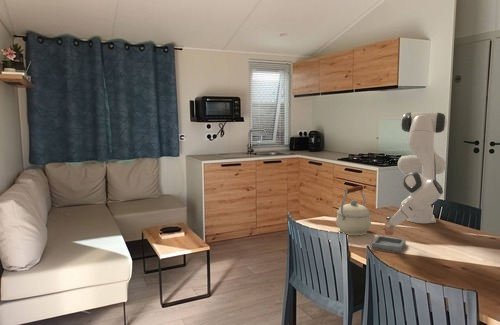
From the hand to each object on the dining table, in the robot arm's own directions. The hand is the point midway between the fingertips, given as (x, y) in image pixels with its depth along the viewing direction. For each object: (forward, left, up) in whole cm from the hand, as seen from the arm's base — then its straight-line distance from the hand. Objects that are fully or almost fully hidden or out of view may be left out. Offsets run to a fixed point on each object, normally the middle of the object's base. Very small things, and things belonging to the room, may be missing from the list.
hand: (388, 224), depth 182 cm
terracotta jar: (0, +1, -4) cm, 4 cm away
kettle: (-15, -20, -11) cm, 28 cm away
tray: (0, +1, -11) cm, 11 cm away
